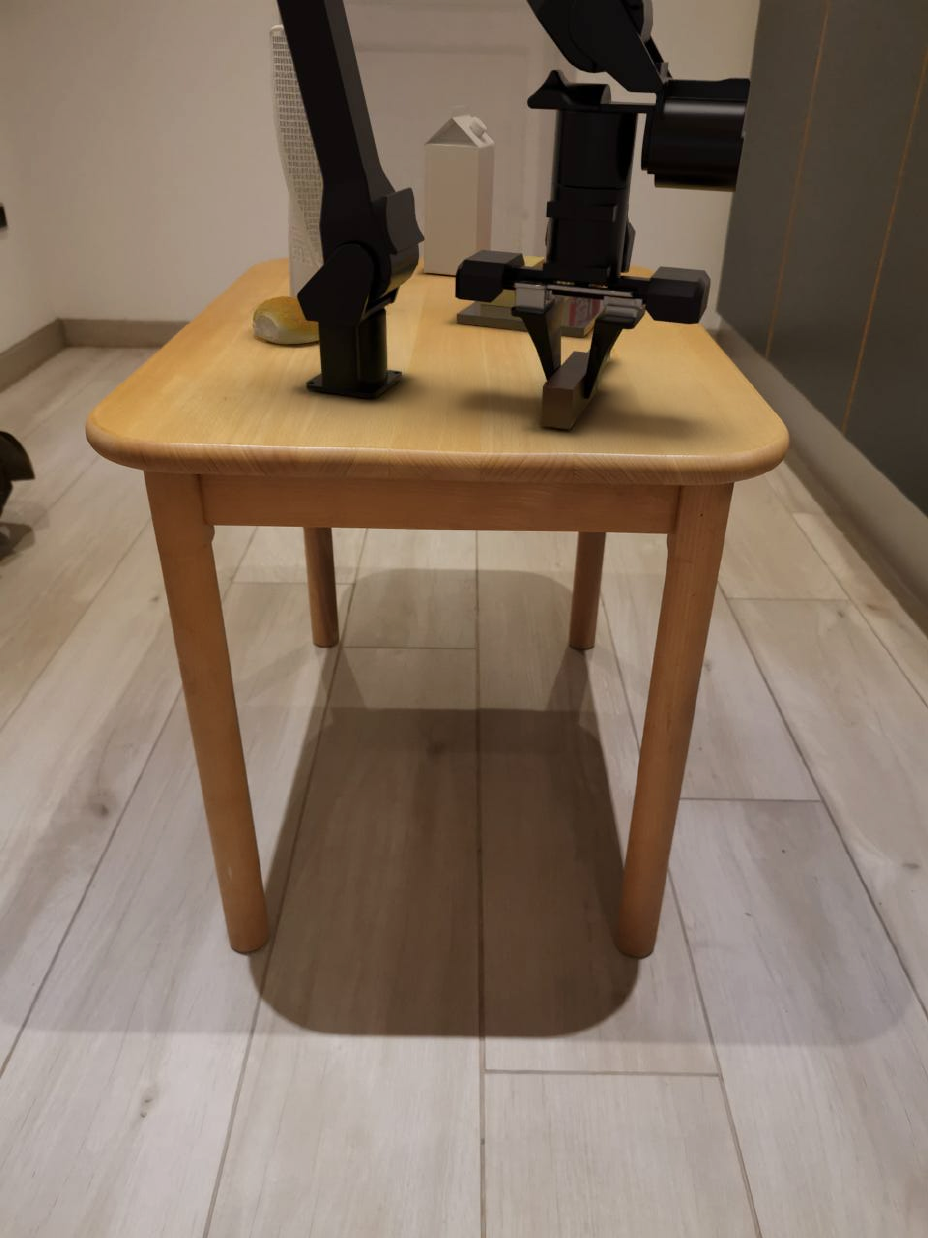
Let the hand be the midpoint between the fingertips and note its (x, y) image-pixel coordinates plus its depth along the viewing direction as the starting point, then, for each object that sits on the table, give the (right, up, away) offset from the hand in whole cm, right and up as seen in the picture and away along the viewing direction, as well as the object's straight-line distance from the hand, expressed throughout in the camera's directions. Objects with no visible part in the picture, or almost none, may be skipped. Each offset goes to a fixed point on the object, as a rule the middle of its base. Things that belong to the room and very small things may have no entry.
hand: (571, 395), depth 72 cm
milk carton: (-10, +28, +46) cm, 54 cm away
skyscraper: (-25, +17, +28) cm, 41 cm away
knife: (+2, +2, +4) cm, 5 cm away
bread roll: (-26, +10, +18) cm, 33 cm away
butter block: (-3, +18, +29) cm, 34 cm away
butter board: (0, +16, +28) cm, 32 cm away
